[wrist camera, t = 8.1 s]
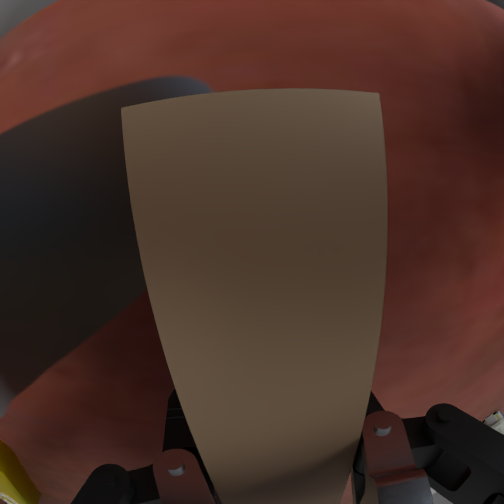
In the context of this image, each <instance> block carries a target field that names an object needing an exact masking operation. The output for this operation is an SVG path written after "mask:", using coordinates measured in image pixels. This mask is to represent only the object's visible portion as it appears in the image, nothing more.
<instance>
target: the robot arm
mask: <svg viewBox="0 0 504 504" xmlns="http://www.w3.org/2000/svg"><path fill="white" fill-rule="evenodd" d="M167 409H168V410H167V416H166V417H167V419H166V425H165V434H164V443H163V451H162V453H161V454H159V455H158V456H157V457H156V459H155V460H154V463H153V464H151V465H149V466H147V467H144V468H140V469H136V470H132V471H126V470H125V469H124V468H122V467H121V466H119V465H115V464H105V465H102V466H99V467H98V468H96V469H95V470H94V471H93V472H92V473H91V475H90V476H89V478H88V479H87V481H86V482H85V484H84V485H83V487H82V488H81V489H80V491H79V492H78V494H77V495H76V497H75V498H74V500H73V501H72V503H71V504H217V502H216V499H215V497H214V486H213V483H212V481H211V479H210V476H209V474H208V472H207V470H206V467H205V465H204V463H203V460H202V458H201V456H200V453H199V451H198V448H197V446H196V443H195V441H194V438H193V436H192V433H191V431H190V428H189V425H188V423H187V420H186V417H185V415H184V412H183V409H182V406H181V403H180V401H179V398H178V395H177V392H176V389H175V390H174V391H173V393H172V394H171V395H170V397H169V400H168V408H167ZM351 482H352V495H353V504H434V501H433V497H432V493H431V489H430V487H431V488H432V489H434V490H435V491H436V492H438V493H439V494H440V495H442V496H443V497H445V498H446V499H448V500H449V501H450V502H452V503H453V504H504V435H503V434H502V433H500V432H498V431H496V430H495V429H493V428H491V427H489V426H488V425H486V424H484V423H482V422H481V421H479V420H477V419H475V418H474V417H472V416H470V415H469V414H467V413H465V412H463V411H462V410H460V409H458V408H457V407H455V406H453V405H450V404H444V403H442V404H437V405H434V406H432V407H431V408H430V409H429V410H428V411H427V413H426V416H423V417H416V418H408V419H402V418H400V417H399V416H398V415H397V414H395V413H393V412H390V411H385V410H384V409H383V407H382V406H381V404H380V403H379V402H378V400H377V399H376V397H375V396H374V394H373V393H372V391H371V392H370V397H369V402H368V406H367V411H366V415H365V420H364V424H363V428H362V432H361V436H360V440H359V443H358V447H357V451H356V454H355V458H354V461H353V465H352V468H351Z"/></svg>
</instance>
